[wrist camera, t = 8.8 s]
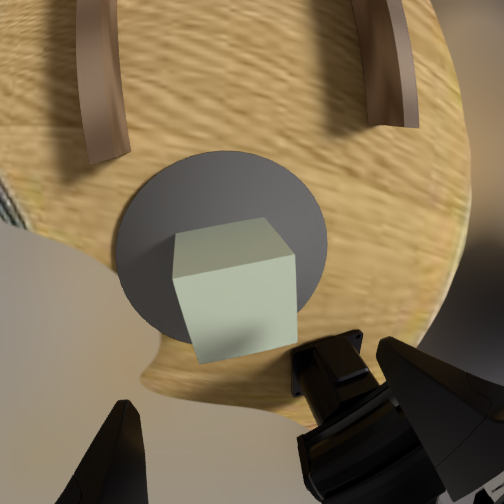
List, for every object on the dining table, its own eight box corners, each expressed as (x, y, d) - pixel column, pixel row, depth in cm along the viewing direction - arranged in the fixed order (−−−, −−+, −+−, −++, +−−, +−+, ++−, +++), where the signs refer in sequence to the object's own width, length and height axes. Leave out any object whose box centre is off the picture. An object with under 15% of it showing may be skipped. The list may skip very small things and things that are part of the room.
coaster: (322, 318, 21) (324, 322, 20) (153, 355, 19) (153, 359, 19) (320, 139, 15) (324, 139, 15) (92, 178, 13) (89, 179, 13)
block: (271, 290, 18) (297, 342, 14) (194, 306, 17) (199, 364, 13) (264, 216, 16) (294, 254, 12) (175, 233, 15) (172, 278, 11)
